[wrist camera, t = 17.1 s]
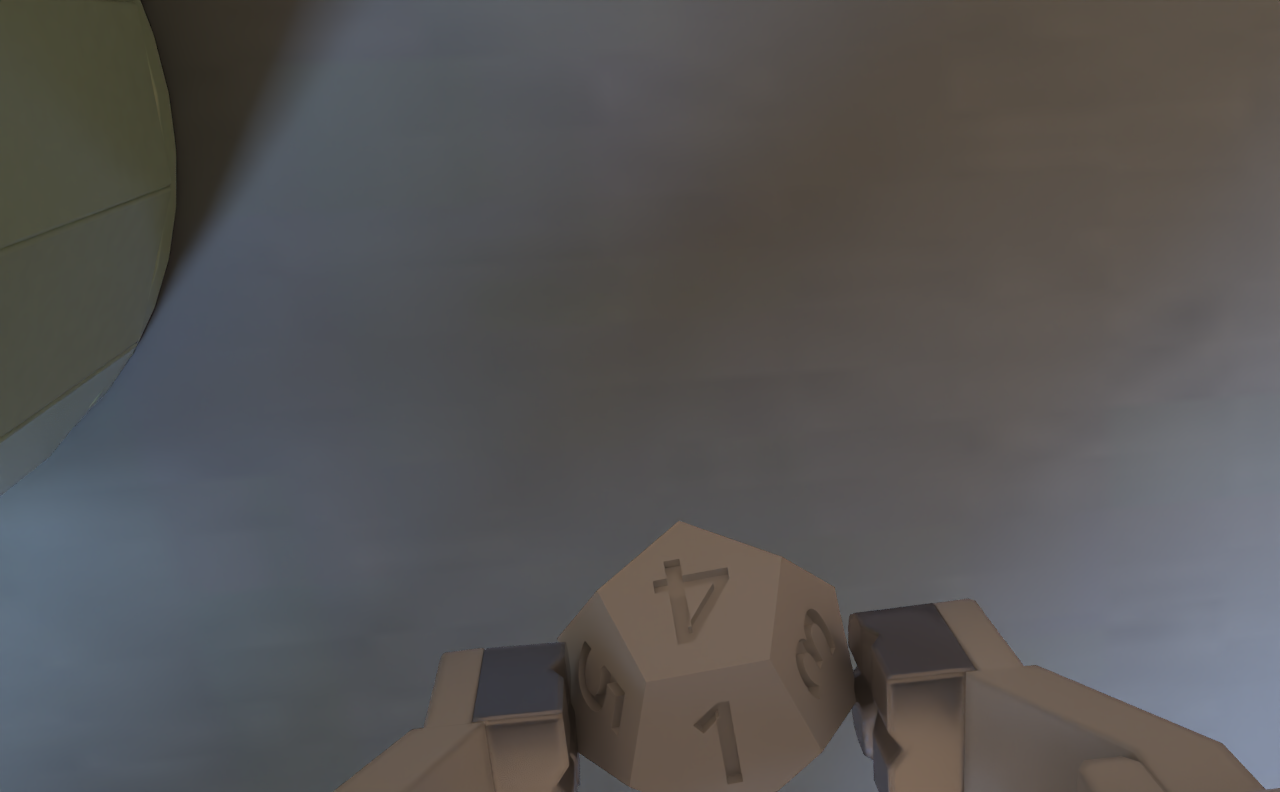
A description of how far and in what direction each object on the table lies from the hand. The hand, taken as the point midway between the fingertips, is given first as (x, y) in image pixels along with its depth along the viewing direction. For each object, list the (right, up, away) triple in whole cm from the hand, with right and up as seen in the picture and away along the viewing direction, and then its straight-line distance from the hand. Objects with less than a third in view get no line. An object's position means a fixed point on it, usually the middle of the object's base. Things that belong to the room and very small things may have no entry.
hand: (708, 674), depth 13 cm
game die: (0, +1, +2) cm, 2 cm away
